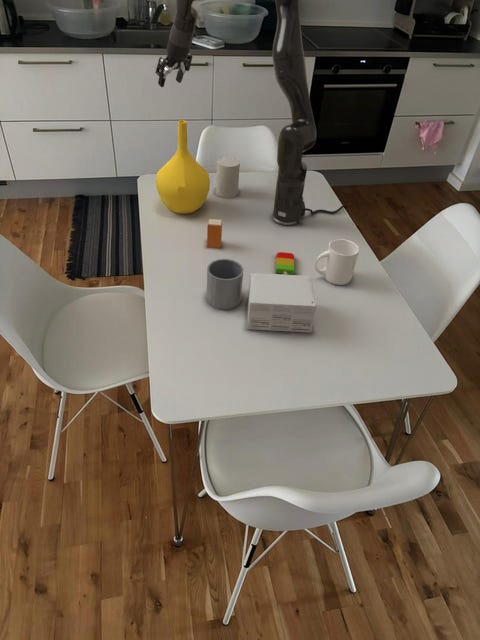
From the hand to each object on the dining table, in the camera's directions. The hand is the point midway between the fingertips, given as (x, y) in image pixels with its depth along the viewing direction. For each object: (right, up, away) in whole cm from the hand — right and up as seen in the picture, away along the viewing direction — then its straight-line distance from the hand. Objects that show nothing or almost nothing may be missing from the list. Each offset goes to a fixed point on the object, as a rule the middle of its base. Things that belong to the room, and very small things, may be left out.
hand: (169, 83), depth 181 cm
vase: (+5, -45, -3) cm, 46 cm away
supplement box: (+36, -84, -44) cm, 101 cm away
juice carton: (+17, -61, -20) cm, 66 cm away
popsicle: (+39, -70, -28) cm, 85 cm away
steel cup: (+21, -79, -40) cm, 91 cm away
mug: (+53, -72, -29) cm, 94 cm away
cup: (+20, -37, +7) cm, 43 cm away
